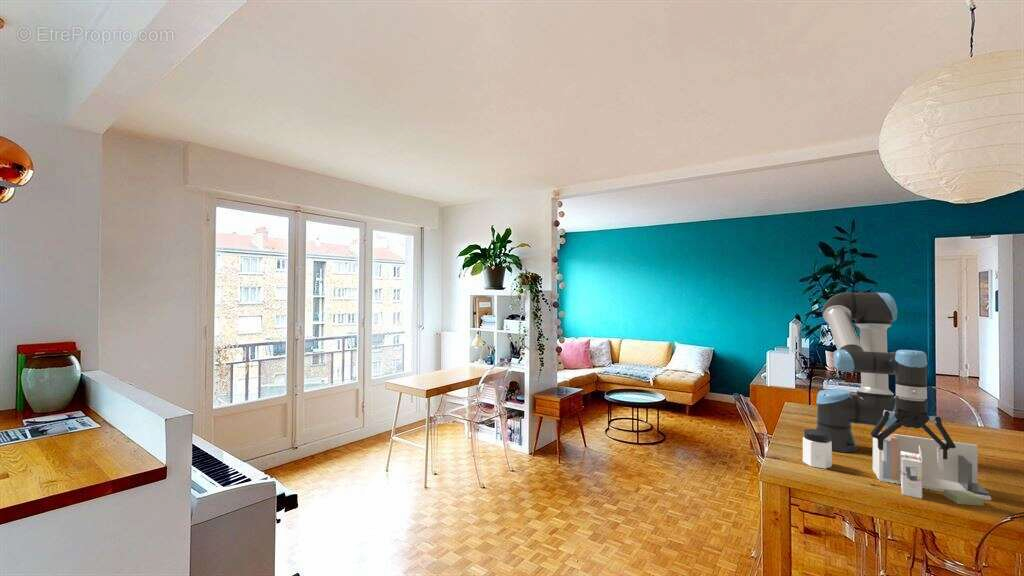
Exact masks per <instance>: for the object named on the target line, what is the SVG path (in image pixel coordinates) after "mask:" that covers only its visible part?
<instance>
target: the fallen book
mask: <svg viewBox="0 0 1024 576" xmlns="http://www.w3.org/2000/svg"><path fill="white" fill-rule="evenodd" d="M943 497H945V498H946V499H948V500H950V501H952V502H953V503H956V504H957V505H972V506H984V504H985V502H984V501H985V499H984V498H982V497H980V496H978V495H976V494H974V493H972V492H970V491H963V490H948V489H944V492H943Z"/></svg>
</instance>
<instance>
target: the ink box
mask: <svg viewBox="0 0 1024 576" xmlns="http://www.w3.org/2000/svg"><path fill="white" fill-rule="evenodd" d="M900 488H901V495H903V496H907V497H911V498H916V499H920V500H921V499H923V488H922V452H921V449H920V446H919V454H914V453H909V452H904V451H901V485H900Z"/></svg>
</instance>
